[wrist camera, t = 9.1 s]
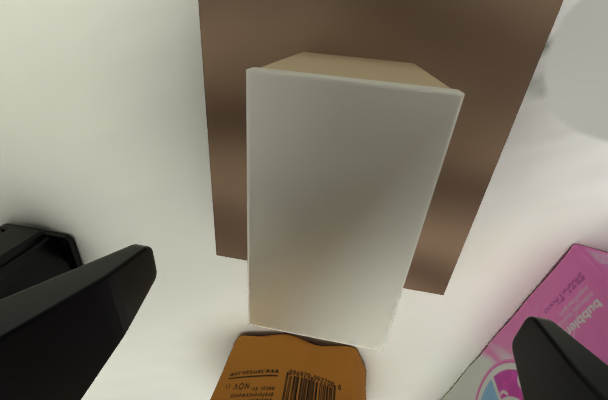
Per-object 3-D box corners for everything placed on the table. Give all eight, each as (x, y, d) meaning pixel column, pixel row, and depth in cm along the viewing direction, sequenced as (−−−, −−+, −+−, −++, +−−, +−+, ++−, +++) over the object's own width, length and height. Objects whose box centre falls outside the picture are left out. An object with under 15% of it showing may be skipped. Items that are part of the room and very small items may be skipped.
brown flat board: (437, 273, 22) (443, 295, 20) (227, 238, 23) (216, 255, 21) (551, -31, 13) (579, -40, 12) (213, -53, 15) (193, -64, 13)
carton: (415, 61, 14) (465, 93, 7) (375, 230, 18) (382, 351, 11) (302, 50, 15) (246, 69, 8) (290, 216, 19) (248, 324, 12)
